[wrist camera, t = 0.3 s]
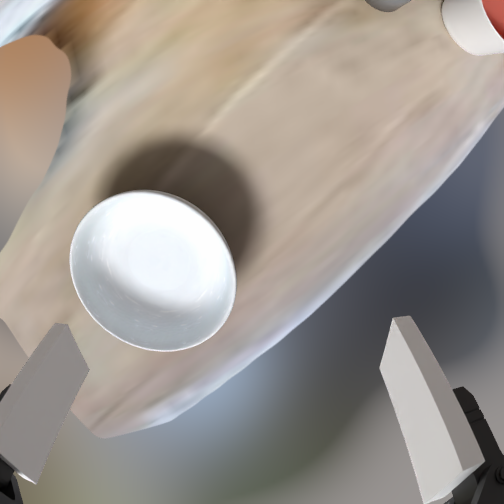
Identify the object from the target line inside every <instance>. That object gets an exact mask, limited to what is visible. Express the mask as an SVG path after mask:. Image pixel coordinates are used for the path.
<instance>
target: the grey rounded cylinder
mask: <svg viewBox="0 0 504 504" xmlns="http://www.w3.org/2000/svg"><path fill="white" fill-rule="evenodd" d="M365 1H366V2H367V3H368V4H369V5H371V6H372V7H374V8H375V9H377V10H380V11H384V12H392V11H395V10H397V9H398V8H400V7H402V6H403V5H405V4H406V3H408V2H410V1H411V0H365Z"/></svg>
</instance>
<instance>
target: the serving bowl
mask: <svg viewBox="0 0 504 504" xmlns="http://www.w3.org/2000/svg"><path fill="white" fill-rule="evenodd" d="M70 270H71V276H72V280H73V284H74V287H75V289H76V292H77V294H78V296H79V298H80V300H81V302H82V304H83V305H84V307H85V308H86V310H87V311H88V313H89V314H90V315H91V316H92V317H93V319H94V320H95V321H96V322H97V323H98V324H99V325H100V326H102V327H103V328H104V329H105V330H106V331H108V332H109V333H110V334H112V335H114V336H115V337H117V338H118V339H120V340H122V341H124V342H126V343H128V344H131V345H133V346H136V347H139V348H142V349H147V350H152V351H178V350H183V349H187V348H191V347H193V346H196V345H198V344H200V343H202V342H204V341H206V340H207V339H209V338H210V337H211V336H213V335H214V334H215V333H216V332H217V331H218V330H219V329H220V328H221V327H222V326H223V324H224V323H225V322H226V320H227V318H228V316H229V315H230V313H231V310H232V308H233V305H234V301H235V296H236V290H237V277H236V269H235V265H234V260H233V257H232V254H231V251H230V249H229V246H228V244H227V242H226V240H225V238H224V236H223V235H222V233H221V232H220V230H219V229H218V227H217V226H216V225H215V223H214V222H213V221H212V220H211V219H210V218H209V217H208V216H207V215H206V214H205V213H204V212H203V211H202V210H200V209H199V208H198V207H196V206H195V205H193V204H192V203H190V202H188V201H187V200H185V199H183V198H180V197H178V196H175V195H173V194H170V193H166V192H161V191H155V190H133V191H127V192H123V193H119V194H116V195H113V196H111V197H109V198H106V199H105V200H103V201H101V202H100V203H98V204H97V205H95V206H94V207H93V208H92V209H91V210H90V211H88V213H87V214H86V215H85V216H84V217H83V219H82V220H81V222H80V223H79V225H78V226H77V229H76V231H75V233H74V236H73V239H72V243H71V248H70Z"/></svg>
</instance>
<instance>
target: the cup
mask: <svg viewBox="0 0 504 504" xmlns="http://www.w3.org/2000/svg"><path fill="white" fill-rule="evenodd" d="M442 18H443V22H444V25H445V27H446V29H447V31H448V33H449V34H450V36H451V37H452V39H453V40H454V41H455V42H456V43H457V44H458V45H459V46H460V47H461V48H462V49H463V50H465V51H467V52H468V53H470V54H473V55H477V56H483V55H490V54H498V53H504V0H444V2H443V4H442Z"/></svg>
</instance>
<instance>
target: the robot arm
mask: <svg viewBox="0 0 504 504" xmlns="http://www.w3.org/2000/svg"><path fill="white" fill-rule="evenodd" d="M89 370H90V369H89V367H88V366H87V364H86V362H85V360H84V358H83V356H82V354H81V352H80V350H79V348H78V346H77V344H76V342H75V339H74V337H73V335H72V333H71V331H70V329H69V326H68V324H59V323H55V324H54V325H53V326H52V328H51V329H50V330H49V332H48V333H47V334H46V336H45V337H44V338H43V340H42V341H41V342H40V344H39V345H38V347H37V348H36V349H35V351H34V352H33V354H32V355H31V356H30V358H29V359H28V361H27V362H26V364H25V365H24V367H23V368H22V369H21V371H20V372H19V374H18V375H17V377H16V378H15V380H14V381H13V383H12V384H10V385H9V386H8V387H6V388H5V389H4V390H3V391H2V392H1V394H0V504H23V501H22V498H21V494H20V491H19V486H18V482H17V479H16V477H15V476H14V475H13V472H14V471H16V472H17V473H18V474H19V475H20V476H22V477H23V478H25V479H27V480H29V481H31V482H33V483H35V484H37V482H38V480H39V477H40V474H41V472H42V470H43V467H44V465H45V462H46V460H47V457H48V455H49V453H50V451H51V448H52V446H53V444H54V442H55V439H56V437H57V435H58V432H59V430H60V428H61V426H62V424H63V422H64V420H65V418H66V416H67V414H68V411H69V409H70V407H71V405H72V403H73V401H74V399H75V397H76V395H77V393H78V391H79V389H80V387H81V385H82V383H83V381H84V379H85V378H86V376H87V374H88V372H89ZM380 371H381V374H382V376H383V379H384V381H385V384H386V387H387V390H388V392H389V395H390V398H391V401H392V403H393V406H394V409H395V412H396V415H397V418H398V421H399V424H400V427H401V430H402V433H403V436H404V439H405V442H406V445H407V448H408V452H409V455H410V458H411V461H412V465H413V468H414V471H415V475H416V478H417V482H418V486H419V489H420V492H421V497H422V500H423V504H427V503H430V502H433V501H435V500H438V499H441V498H443V497H445V496H446V495H447V494H448V493H450V492H451V491H452V494H453V497H452V498H451V499H450V500H448V501H447V502H445V503H444V504H504V455H503V454H502V452H501V451H500V449H499V447H498V445H497V442H496V440H495V438H494V436H493V434H492V432H491V430H490V427H489V426H488V423H487V421H486V419H484V415H483V413H482V412H481V410H479V406H478V404H477V402H476V400H475V398H474V396H473V395H472V394H471V393H470V392H469V391H467V390H466V389H465V388H464V387H459V388H456V389H453V390H452V388H451V386H450V385H449V383H448V381H447V379H446V377H445V375H444V373H443V372H442V370H441V368H440V366H439V364H438V362H437V360H436V359H435V357H434V355H433V353H432V352H431V350H430V348H429V346H428V345H427V343H426V341H425V339H424V338H423V336H422V334H421V333H420V331H419V329H418V328H417V326H416V324H415V323H414V321H413V319H412V318H411V316H404V317H396V318H393V320H392V324H391V328H390V332H389V335H388V340H387V343H386V347H385V350H384V354H383V357H382V361H381V364H380Z"/></svg>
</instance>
